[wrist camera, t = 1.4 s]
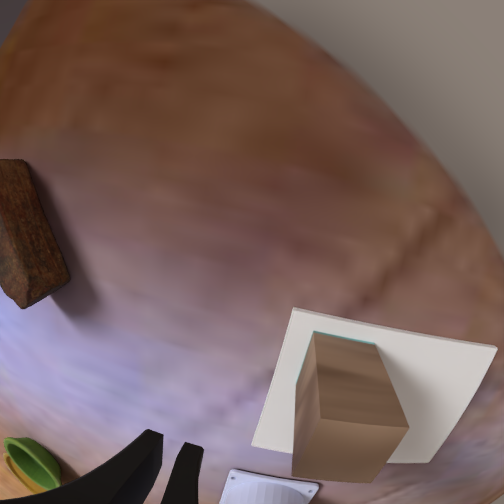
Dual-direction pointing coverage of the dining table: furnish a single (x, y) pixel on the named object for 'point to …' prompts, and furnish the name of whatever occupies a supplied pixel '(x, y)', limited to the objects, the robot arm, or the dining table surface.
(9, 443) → the tableware set
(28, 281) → the brick
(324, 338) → the walnut block
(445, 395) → the white mat
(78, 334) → the dining table surface
